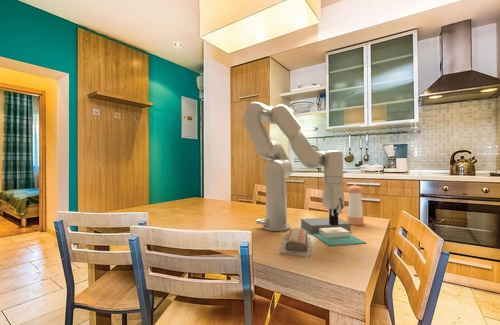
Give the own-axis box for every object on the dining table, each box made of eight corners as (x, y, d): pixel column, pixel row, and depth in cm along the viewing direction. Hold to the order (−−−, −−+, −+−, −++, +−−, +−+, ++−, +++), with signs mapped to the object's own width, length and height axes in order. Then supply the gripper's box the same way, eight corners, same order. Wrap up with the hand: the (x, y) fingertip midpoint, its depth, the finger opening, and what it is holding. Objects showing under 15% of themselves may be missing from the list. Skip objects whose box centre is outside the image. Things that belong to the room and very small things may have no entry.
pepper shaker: (359, 221, 123) (358, 183, 123) (366, 225, 116) (366, 185, 116) (344, 221, 123) (344, 183, 123) (351, 225, 116) (351, 185, 116)
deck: (311, 233, 103) (311, 225, 103) (301, 226, 115) (301, 218, 115) (350, 231, 106) (350, 223, 106) (336, 224, 118) (336, 217, 118)
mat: (328, 246, 88) (328, 245, 88) (311, 233, 103) (311, 232, 103) (366, 243, 91) (366, 242, 91) (344, 231, 106) (344, 230, 106)
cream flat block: (326, 238, 96) (326, 233, 96) (318, 232, 103) (318, 228, 103) (349, 236, 98) (349, 231, 98) (340, 231, 105) (340, 226, 105)
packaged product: (285, 226, 99) (310, 228, 96) (285, 238, 99) (310, 240, 96) (279, 241, 81) (310, 243, 79) (279, 255, 81) (310, 258, 79)
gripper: (316, 179, 107) (317, 220, 107) (334, 182, 92) (334, 230, 93) (332, 179, 108) (333, 220, 109) (352, 181, 94) (352, 229, 94)
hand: (333, 224), depth 101 cm, fingers closed
